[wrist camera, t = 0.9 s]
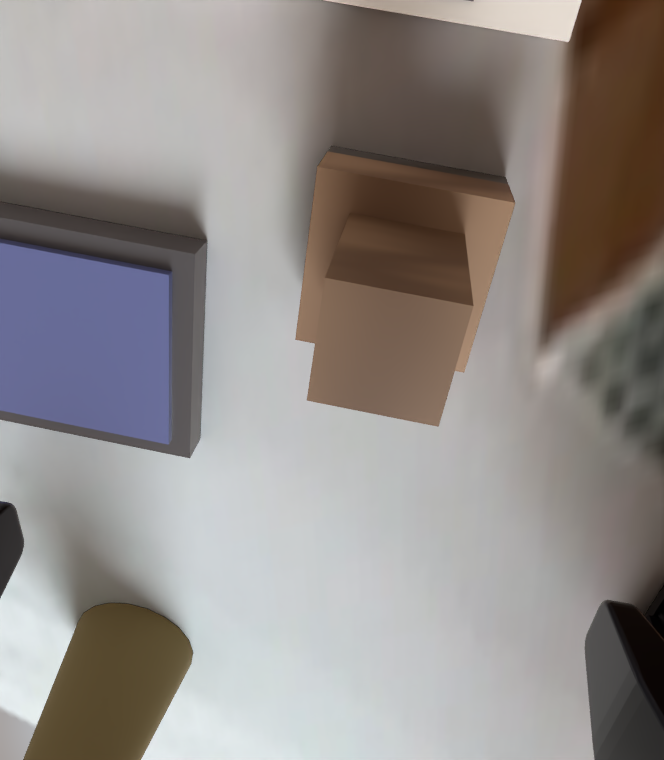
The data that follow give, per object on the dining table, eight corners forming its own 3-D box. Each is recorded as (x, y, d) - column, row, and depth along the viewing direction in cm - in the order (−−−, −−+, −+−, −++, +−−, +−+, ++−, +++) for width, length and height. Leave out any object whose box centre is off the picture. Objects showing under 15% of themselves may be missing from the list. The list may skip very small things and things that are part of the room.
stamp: (505, 176, 18) (539, 268, 12) (461, 331, 20) (470, 469, 15) (331, 145, 18) (280, 219, 12) (310, 302, 21) (260, 426, 15)
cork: (56, 606, 31) (-104, 866, 22) (166, 599, 30) (43, 875, 20) (108, 681, 34) (-15, 939, 25) (209, 678, 33) (120, 951, 23)
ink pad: (207, 240, 20) (191, 257, 19) (200, 438, 24) (187, 463, 23) (-35, 194, 20) (-66, 208, 19) (0, 398, 25) (-23, 420, 23)
